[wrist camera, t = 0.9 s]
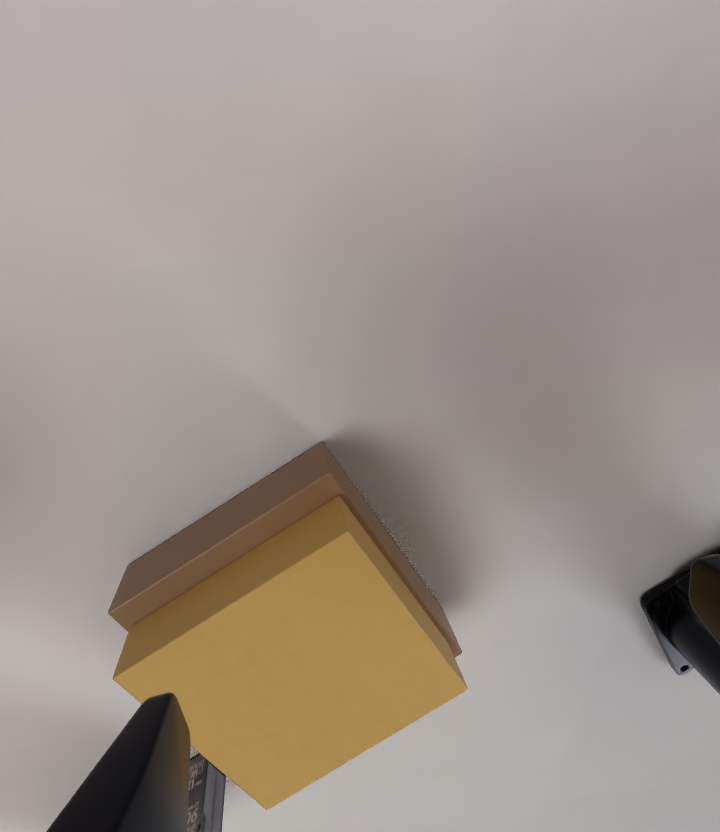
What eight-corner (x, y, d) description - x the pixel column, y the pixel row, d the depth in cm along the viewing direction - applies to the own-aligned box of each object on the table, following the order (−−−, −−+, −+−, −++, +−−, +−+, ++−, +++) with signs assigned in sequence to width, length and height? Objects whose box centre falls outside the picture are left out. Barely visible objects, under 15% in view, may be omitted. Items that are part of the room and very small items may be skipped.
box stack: (442, 607, 26) (484, 700, 21) (274, 710, 26) (275, 826, 21) (322, 440, 22) (338, 504, 17) (126, 565, 22) (84, 665, 17)
